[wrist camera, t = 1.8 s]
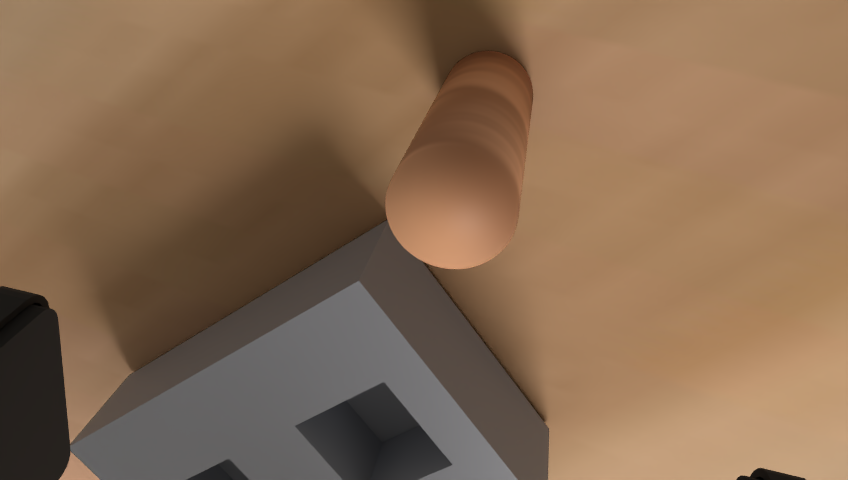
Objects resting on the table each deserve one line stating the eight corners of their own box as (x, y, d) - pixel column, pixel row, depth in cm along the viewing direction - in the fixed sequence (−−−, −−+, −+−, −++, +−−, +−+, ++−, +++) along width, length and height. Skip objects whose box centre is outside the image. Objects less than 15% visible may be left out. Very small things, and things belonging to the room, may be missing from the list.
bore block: (285, 538, 39) (250, 624, 34) (129, 375, 35) (67, 447, 31) (548, 428, 32) (546, 516, 28) (389, 218, 29) (359, 280, 25)
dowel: (475, 154, 27) (435, 289, 18) (426, 83, 26) (359, 190, 18) (550, 108, 26) (544, 231, 17) (501, 32, 25) (468, 120, 16)
